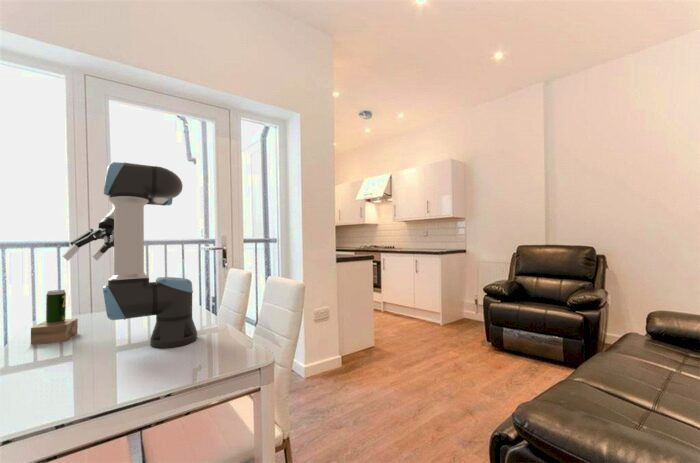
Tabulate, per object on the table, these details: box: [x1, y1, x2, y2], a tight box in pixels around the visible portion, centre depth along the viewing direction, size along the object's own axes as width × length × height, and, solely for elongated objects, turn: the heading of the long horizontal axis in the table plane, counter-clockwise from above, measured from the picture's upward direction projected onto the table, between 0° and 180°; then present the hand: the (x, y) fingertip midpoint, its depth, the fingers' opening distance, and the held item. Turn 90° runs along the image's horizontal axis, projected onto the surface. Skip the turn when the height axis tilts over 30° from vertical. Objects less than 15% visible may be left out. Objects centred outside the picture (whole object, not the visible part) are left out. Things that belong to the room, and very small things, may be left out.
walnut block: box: [30, 318, 79, 346], centre depth 121 cm, size 10×10×6 cm
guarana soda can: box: [45, 289, 67, 325], centre depth 121 cm, size 5×5×12 cm
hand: (80, 258), depth 130 cm, fingers open, 13 cm apart
